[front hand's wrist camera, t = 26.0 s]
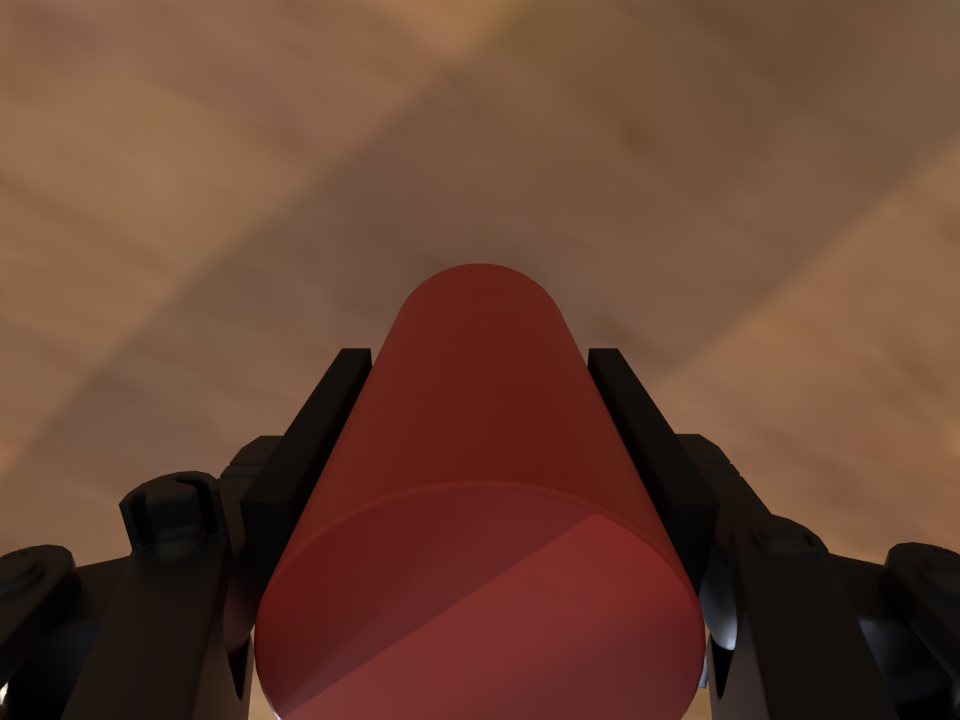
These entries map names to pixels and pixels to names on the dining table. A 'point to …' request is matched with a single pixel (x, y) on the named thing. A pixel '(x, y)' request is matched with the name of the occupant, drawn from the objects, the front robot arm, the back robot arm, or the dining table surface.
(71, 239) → the dining table surface
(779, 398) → the dining table surface
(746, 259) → the dining table surface
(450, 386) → the cylinder
